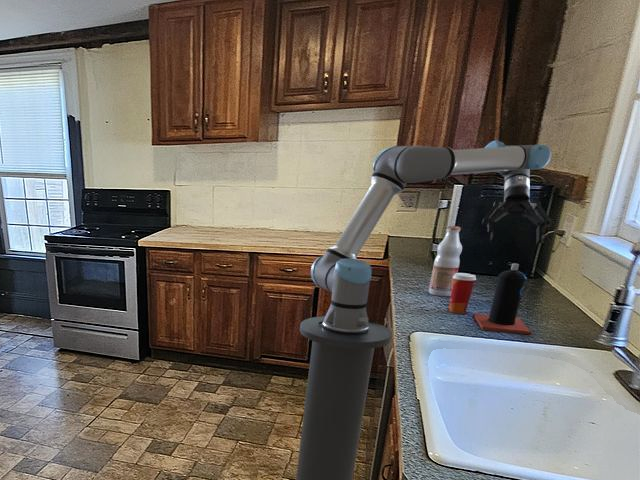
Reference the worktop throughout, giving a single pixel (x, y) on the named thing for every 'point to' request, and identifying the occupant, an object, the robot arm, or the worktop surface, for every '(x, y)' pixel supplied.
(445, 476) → the worktop surface
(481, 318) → the pad
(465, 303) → the paper cup
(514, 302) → the aerosol can
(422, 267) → the worktop surface
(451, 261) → the fruit juice
